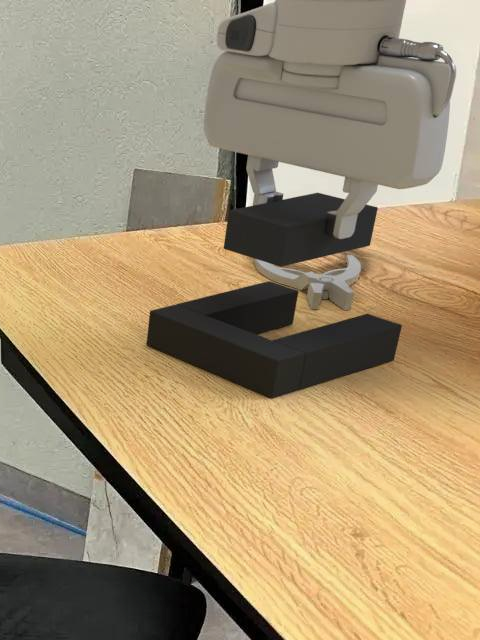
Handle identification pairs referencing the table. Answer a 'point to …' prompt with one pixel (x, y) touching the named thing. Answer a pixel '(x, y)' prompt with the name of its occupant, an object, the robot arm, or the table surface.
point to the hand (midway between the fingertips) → (300, 225)
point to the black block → (293, 230)
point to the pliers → (317, 281)
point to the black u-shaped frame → (261, 353)
